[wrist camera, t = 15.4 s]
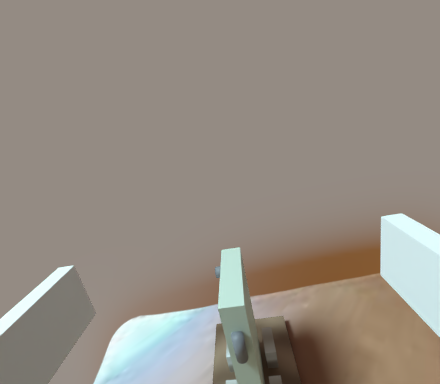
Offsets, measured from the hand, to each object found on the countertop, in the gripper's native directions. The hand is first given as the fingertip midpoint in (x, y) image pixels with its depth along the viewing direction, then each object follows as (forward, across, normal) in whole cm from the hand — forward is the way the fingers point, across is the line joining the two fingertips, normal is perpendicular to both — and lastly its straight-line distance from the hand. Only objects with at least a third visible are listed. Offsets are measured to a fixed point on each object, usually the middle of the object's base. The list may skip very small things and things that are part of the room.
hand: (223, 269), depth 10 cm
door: (+14, -2, -28) cm, 32 cm away
